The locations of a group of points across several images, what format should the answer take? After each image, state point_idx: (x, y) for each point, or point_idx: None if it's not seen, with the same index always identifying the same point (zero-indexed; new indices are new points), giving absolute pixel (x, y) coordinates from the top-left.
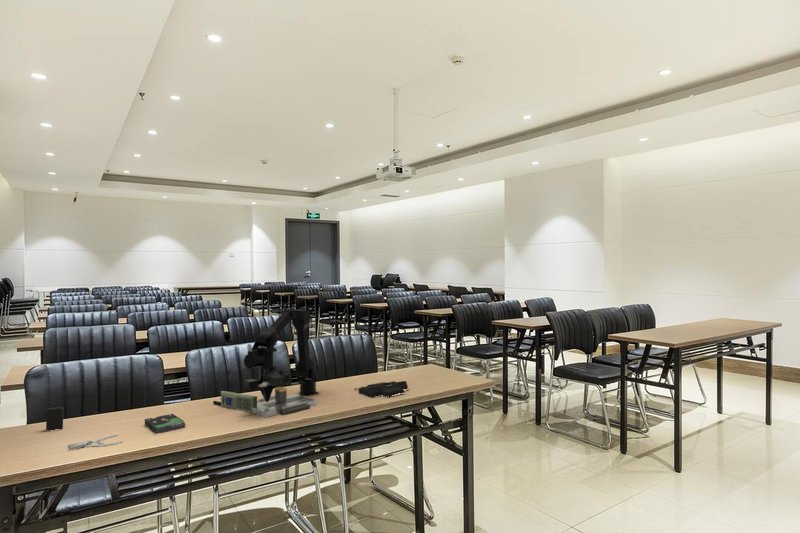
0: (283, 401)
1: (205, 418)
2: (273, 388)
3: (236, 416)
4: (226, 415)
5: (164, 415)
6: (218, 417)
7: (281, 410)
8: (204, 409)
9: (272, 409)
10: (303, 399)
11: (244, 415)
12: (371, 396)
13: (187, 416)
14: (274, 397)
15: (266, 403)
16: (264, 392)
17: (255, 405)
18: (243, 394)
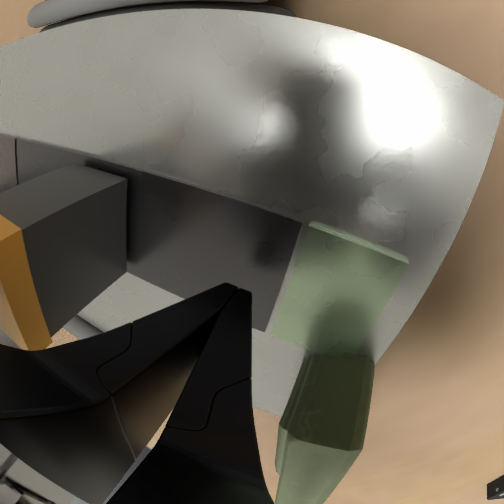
0: (94, 171)
1: (500, 442)
2: (31, 351)
3: (486, 364)
4: (461, 415)
5: (502, 497)
6: (494, 419)
7: (278, 7)
8: (371, 490)
9: (367, 81)
10: (9, 117)
11: (463, 335)
12: None
13: (463, 481)
14: (91, 330)
15: None
16: (247, 434)
17: (344, 363)
18: (290, 500)
